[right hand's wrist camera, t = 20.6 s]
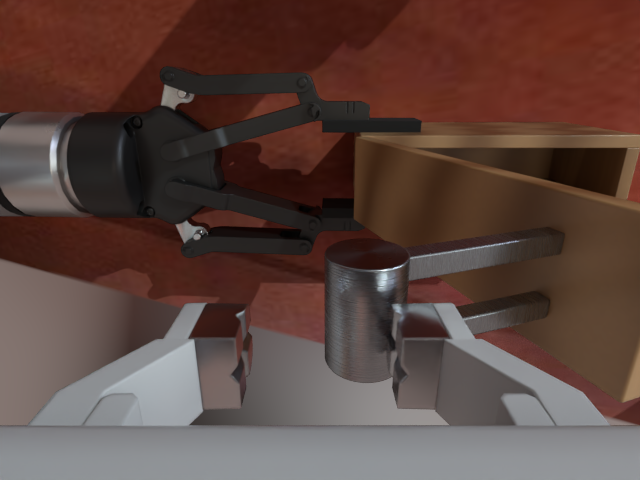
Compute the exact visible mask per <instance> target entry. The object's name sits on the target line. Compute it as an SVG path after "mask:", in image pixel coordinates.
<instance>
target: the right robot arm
mask: <svg viewBox="0 0 640 480" xmlns="http://www.w3.org/2000/svg"><path fill="white" fill-rule="evenodd" d="M250 322H251V316H250V307H249V304H223V303H208V304H207V303H187V304H185V305H184V306H183V307H182V309H181V311H180V312H179V314H178V315H177V317H176V319H175V320H174V322H173V324H172V325H171V327H170V329H169V330H168V332H167V333H166V335H165V336H164V338H163V339H156V340H154V341H152V342H150V343H148V344H146V345H144V346H142V347H141V348H139V349H137V350H135V351H133V352H131V353H129V354H127V355H125V356H123V357H121V358H120V359H118V360H116V361H114V362H112V363H110V364H108V365H106V366H104V367H102V368H100V369H99V370H97V371H95V372H93V373H91V374H89V375H87V376H85V377H83V378H81V379H79V380H77V381H76V382H74V383H72V384H70V385H68V386H66V387H64V388H62V389H60V390H58V391H57V392H55V394H54V395H53V396H52V397H51V398H50V399H49V401H48V402H47V403H46V404H45V405H44V406H43V408H42V409H41V410H40V411H39V412H38V413H37V414H36V416H35V417H34V418H33V419H32V420H31V422H30V423H29V424H28V425H27V426H0V480H640V425H610V424H609V423H608V422H607V420H606V419H605V418H604V417H603V416H602V415H601V413H600V412H599V411H598V410H597V409H596V407H595V406H594V405H593V404H592V403H591V402H590V400H589V399H588V398H587V397H586V396H585V395H584V393H583V392H581V391H579V390H577V389H575V388H574V387H572V386H570V385H568V384H566V383H564V382H562V381H560V380H558V379H557V378H555V377H553V376H551V375H549V374H547V373H545V372H543V371H541V370H539V369H538V368H536V367H534V366H532V365H530V364H528V363H526V362H524V361H522V360H520V359H519V358H517V357H515V356H513V355H511V354H509V353H507V352H505V351H503V350H502V349H500V348H498V347H496V346H494V345H492V344H490V343H488V342H486V341H484V340H483V339H475V337H474V336H473V334H472V333H471V331H470V329H469V328H468V326H467V325H466V323H465V321H464V320H463V318H462V317H461V315H460V313H459V312H458V310H457V309H456V307H455V305H454V304H452V303H419V304H391V305H390V306H389V314H388V323H389V327H390V330H391V332H390V333H389V335H388V336H387V346H386V359H387V366H388V371H389V375H390V376H392V377H393V386H392V388H393V392H394V396H395V400H396V404H397V408H399V409H436V412H437V413H438V414H439V415H440V416H441V417H442V418H443V419H444V420H445V421H446V422H447V423H448V424H449V425H433V426H432V425H430V426H429V425H425V426H424V425H421V426H420V425H419V426H417V425H410V426H409V425H408V426H407V425H405V426H403V425H399V426H394V425H388V426H387V425H385V426H384V425H383V426H188V425H189V424H190V423H191V422H193V421H194V420H195V419H196V418H197V417H198V416H199V415H200V414H201V413H202V412H203V409H238V408H241V407H242V403H243V399H244V395H245V391H246V377H247V376H248V375H249V374H250V370H251V364H252V336H251V334H250V333H249V332H248V329H249V325H250Z"/></svg>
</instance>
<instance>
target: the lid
mask: <svg viewBox="0 0 640 480" xmlns="http://www.w3.org/2000/svg"><path fill="white" fill-rule="evenodd" d="M354 219H355V220H356V221H357V222H359V223H360V224H362V225H363V226H365V227H366V228H368V229H369V230H371V231H372V232H373V233H375V234H376V235H378V236H379V237H381V238H382V239H384V240H385V241H384V240H378V239H350V240H344V241H340V242H337V243H335V244H333V245H331V246H329V247H328V248H327V250H326V252H325V360H326V363H327V365H328V366H329V368H330V369H331V370H332V371H333V372H334V373H335V374H337V375H339V376H340V377H342V378H344V379H347V380H350V381H354V382H360V383H373V382H380V381H383V380H386V379H389V378H391V377H392V376H390V375H389V371H388V366H387V359H386V346H387V336H388V335H389V333H390V332H391V330H390V327H389V323H388V314H389V306H390V305H391V304H407V297H408V284H409V281H411V280H417V279H423V278H429V277H434V276H437V277H439V278H440V279H442V280H443V281H444V282H446V283H447V284H449V285H450V286H452V287H453V288H455V289H456V290H457V291H459V292H460V293H462V294H463V295H465V296H466V297H468V298H469V299H471V300H472V301H473V302H475V303H472V304H468V305H463V306H458V307H456V309H457V310H458V312H459V313H460V315H461V317H462V318H463V320H464V321H465V323H466V325H467V326H468V328H469V329H470V331H471V333H472V334H473V335H475V334H480V333H484V332H488V331H492V330H497V329H501V328H505V327H509V326H510V327H511V328H513V329H514V330H515V331H517V332H518V333H520V334H521V335H523V336H524V337H526V338H527V339H528V340H530V341H531V342H533V343H534V344H536V345H537V346H539V347H540V348H542V349H543V350H544V351H546V352H547V353H549V354H550V355H552V356H553V357H555V358H556V359H557V360H559V361H560V362H562V363H563V364H565V365H566V366H568V367H569V368H571V369H572V370H573V371H575V372H576V373H578V374H579V375H581V376H582V377H584V378H585V379H586V380H588V381H589V382H591V383H592V384H594V385H595V386H597V387H598V388H600V389H601V390H602V391H604V392H605V393H607V394H608V395H610V396H611V397H613V398H614V399H615V400H617V401H618V402H621V403H623V402H626V401H629V400H632V399H635V398H638V397H640V203H637V202H633V201H629V200H625V199H621V198H617V197H613V196H608V195H604V194H600V193H596V192H592V191H588V190H584V189H580V188H576V187H572V186H568V185H563V184H559V183H555V182H551V181H547V180H543V179H539V178H535V177H531V176H527V175H523V174H518V173H514V172H510V171H506V170H502V169H498V168H494V167H490V166H486V165H482V164H477V163H473V162H469V161H465V160H461V159H457V158H453V157H449V156H445V155H441V154H437V153H432V152H428V151H424V150H420V149H416V148H412V147H408V146H404V145H400V144H396V143H392V142H387V141H383V140H379V139H375V138H371V137H367V136H366V137H356V144H355V186H354Z"/></svg>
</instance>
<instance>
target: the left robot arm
mask: <svg viewBox="0 0 640 480" xmlns="http://www.w3.org/2000/svg"><path fill="white" fill-rule="evenodd" d="M160 79H161V81H162V82H163V83H164V90H163V95H162V100H161V105H160V106H156V107H154V108H152V109H151V110H149V111H147V112H91V113H87V114H82V113H80V112H21V113H0V216H44V217H91V216H94V215H95V216H97V217H113V218H158V219H162V220H164V221H166V222H168V223H170V224H175V225H176V227H177V229H178V231H179V233H180V235H181V238H182V240H183V242H184V244H183V246H182V247H181V252H182V254H183V255H184V256H185V257H187V258H193V257H196V256H199V255H203V254H206V253H209V252H212V251H213V252H238V253H263V254H288V255H307V254H309V253H310V252H311V251H312V247H313V244H314V241H315V239H316V237H317V235H318V234H319V233H320V232H322V231H326V230H328V231H359V230H362V229H364V228H365V226H363V225H362V224H360V223H359V222H357V221H356V220H355V219H354V199H345V198H323V204H322V209H321V208H320V207H319V206H316V208H315V207H312V206H308V205H304V204H301V203H297V202H294V201H290V200H286V199H283V198H279V197H275V196H272V195H268V194H264V193H261V192H257V191H254V190H250V189H246V188H243V187H239V186H238V185H237V184H234V183H231V182H227V181H224V174H223V171H222V168H221V165H220V163H221V158H222V147H224V146H227V145H230V144H234V143H237V142H241V141H244V140H248V139H252V138H255V137H259V136H262V135H266V134H269V133H273V132H277V131H280V130H284V129H287V128H291V127H294V126H298V125H301V124H305V123H309V122H312V121H314V122H315V121H322V132H359V133H360V132H421V123H422V121H420V120H418V119H415V118H369V113H370V105H369V104H366V103H364V102H362V101H324V100H322V99H321V98H320V97H319V96H318V94H317V92H316V89H315V86H314V83H313V80H312V78H311V76H309V75H308V74H306V73H270V74H235V75H201V74H198V73H196V72H193V71H190V70H187V69H184V68H178V67H169V66H166V67H163V68H162V69H161V71H160ZM264 93H297V95H298V98H299V101H300V105H296V106H293V107H289V108H286V109H282V110H279V111H276V112H272V113H269V114H265V115H262V116H258V117H255V118H251V119H248V120H244V121H241V122H237V123H234V124H230V125H226V126H223V127H219V128H216V129H212V130H208V129H206V128H205V127H204V126H202V125H201V124H199V123H198V122H196V121H195V120H194V119H192V118H191V117H189V116H188V115H187V114H185V113H184V112H182V111H181V110H180V109H179V108H180V106H181V105H182V104H183V103H191V102H194V101H196V99H197V98H198V95H227V94H264ZM205 206H207V207H211V208H215V209H218V210H231V211H235V212H238V213H242V214H246V215H249V216H253V217H257V218H261V219H264V220H268V221H272V222H275V223H279V224H283V225H286V226H290V227H294V228H297V229H282V228H256V227H230V226H220V227H213V228H210V227H209V225H208V224H206V223H197V222H195V221H194V220H192V218H191V217H192V216H193V215H195V214H196V213H197V212H199V211H200V210H201V209H203V208H204V207H205Z"/></svg>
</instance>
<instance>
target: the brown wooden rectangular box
mask: <svg viewBox="0 0 640 480" xmlns="http://www.w3.org/2000/svg"><path fill="white" fill-rule="evenodd" d="M366 136H367V137H371V138H375V139H379V140H383V141H387V142H392V143H396V144H400V145H404V146H408V147H412V148H416V149H420V150H424V151H428V152H432V153H437V154H441V155H445V156H449V157H453V158H457V159H461V160H465V161H469V162H473V163H477V164H482V165H486V166H490V167H494V168H498V169H502V170H506V171H510V172H514V173H518V174H523V175H527V176H531V177H535V178H539V179H543V180H547V181H551V182H555V183H559V184H563V185H568V186H572V187H576V188H580V189H584V190H588V191H592V192H596V193H600V194H604V195H608V196H613V197H617V198H621V199H625V200H627V196H628V193H629V189H630V185H631V181H632V177H633V173H634V169H635V166H636V162H637V158H638V154H639V150H640V135H639V134H633V133H626V132H620V131H614V130H608V129H602V128H596V127H590V126H583V125H577V124H571V123H565V122H438V123H421V132H360V133H359V132H354V165H353V186H355V144H356V137H366Z"/></svg>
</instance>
